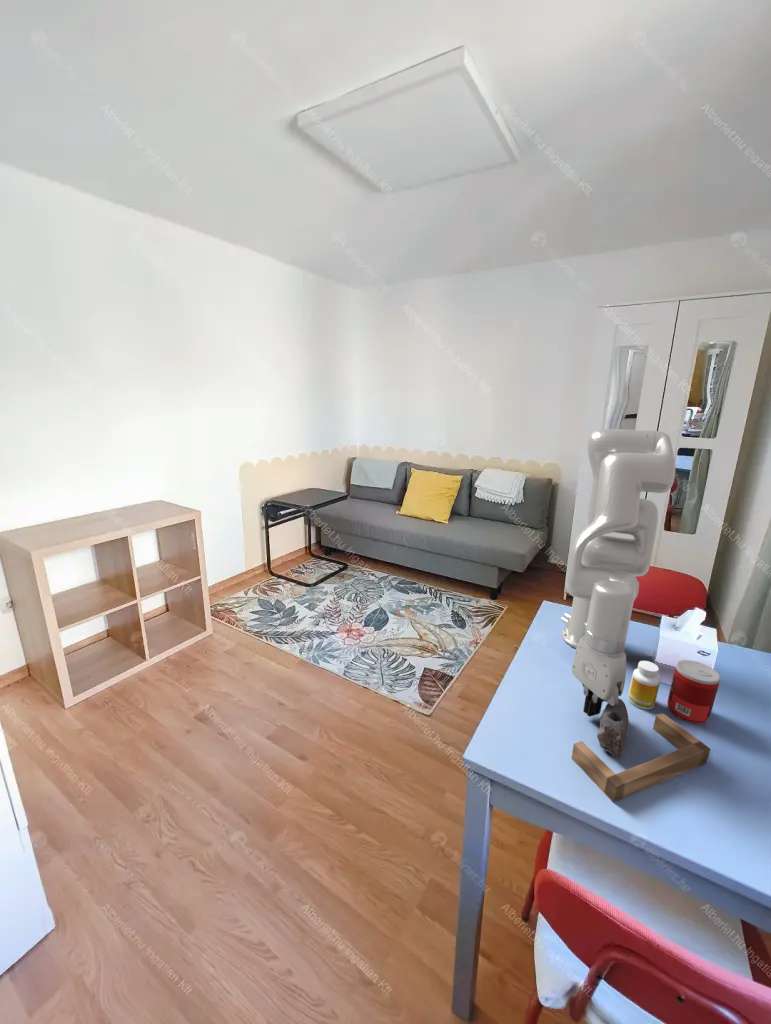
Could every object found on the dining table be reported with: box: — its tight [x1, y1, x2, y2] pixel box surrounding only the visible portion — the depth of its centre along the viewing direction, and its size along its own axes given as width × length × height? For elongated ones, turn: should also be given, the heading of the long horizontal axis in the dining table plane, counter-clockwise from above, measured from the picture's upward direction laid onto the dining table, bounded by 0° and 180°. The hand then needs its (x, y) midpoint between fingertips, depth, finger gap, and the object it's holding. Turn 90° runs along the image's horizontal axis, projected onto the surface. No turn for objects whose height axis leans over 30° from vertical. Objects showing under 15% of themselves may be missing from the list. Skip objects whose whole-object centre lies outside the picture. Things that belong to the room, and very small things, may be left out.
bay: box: [571, 712, 711, 803], centre depth 85 cm, size 10×24×4 cm, turn 111°
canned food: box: [667, 659, 721, 725], centre depth 96 cm, size 8×8×11 cm
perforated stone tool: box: [596, 698, 630, 758], centre depth 90 cm, size 15×5×7 cm, turn 146°
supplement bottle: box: [627, 660, 661, 710], centre depth 100 cm, size 5×5×10 cm
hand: (591, 712), depth 96 cm, fingers closed
